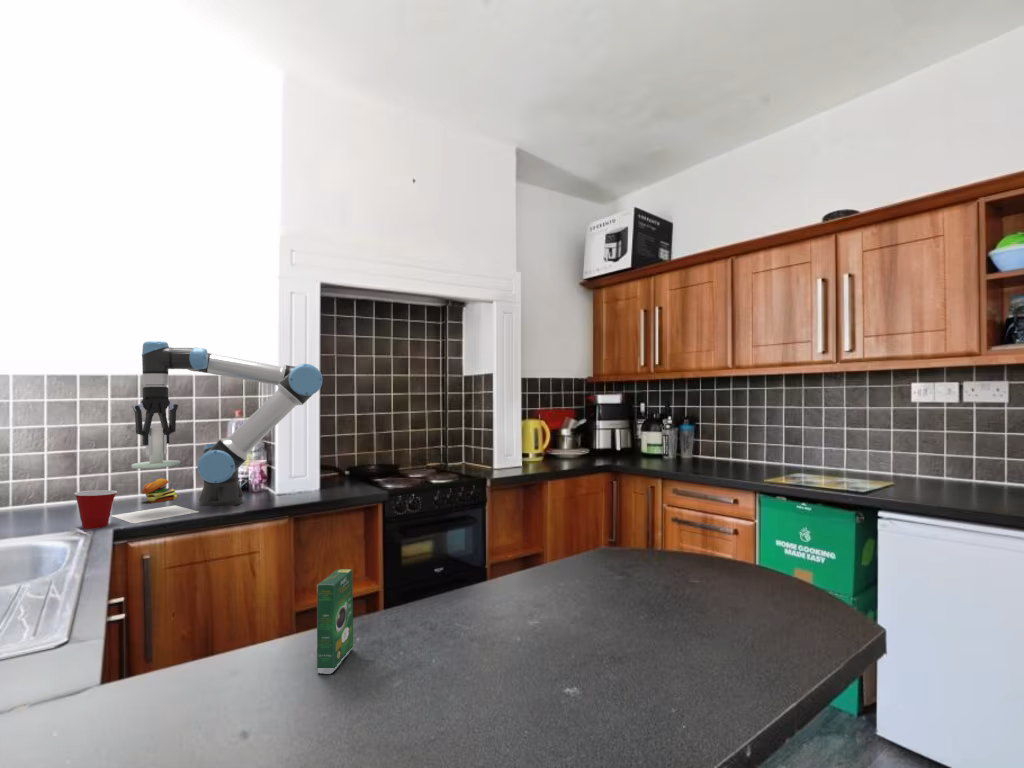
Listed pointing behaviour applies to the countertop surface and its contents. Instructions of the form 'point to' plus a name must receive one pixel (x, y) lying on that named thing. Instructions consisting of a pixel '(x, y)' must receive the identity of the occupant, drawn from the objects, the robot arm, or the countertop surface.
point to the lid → (156, 452)
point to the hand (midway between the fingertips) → (156, 454)
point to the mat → (154, 514)
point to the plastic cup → (95, 507)
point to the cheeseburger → (158, 491)
